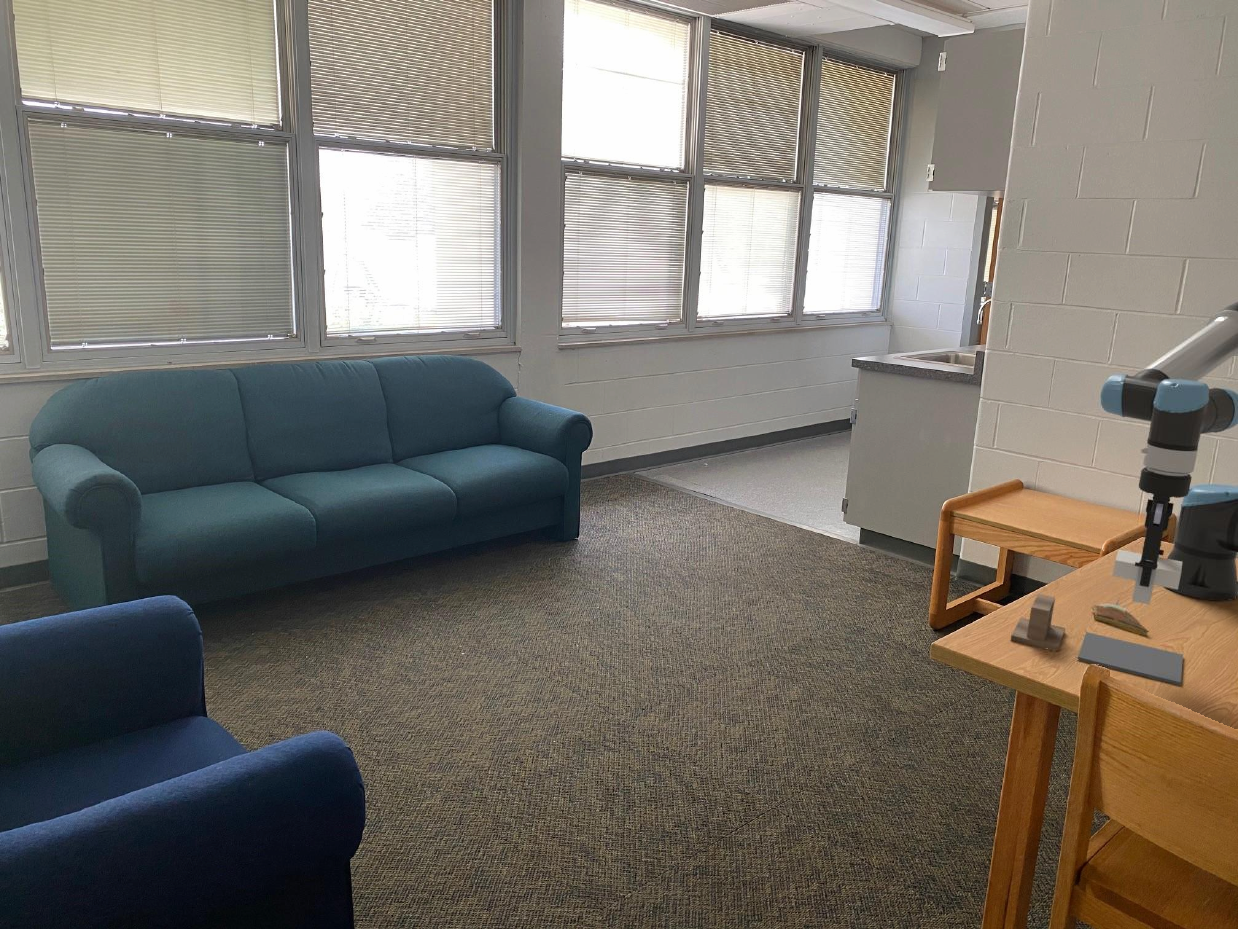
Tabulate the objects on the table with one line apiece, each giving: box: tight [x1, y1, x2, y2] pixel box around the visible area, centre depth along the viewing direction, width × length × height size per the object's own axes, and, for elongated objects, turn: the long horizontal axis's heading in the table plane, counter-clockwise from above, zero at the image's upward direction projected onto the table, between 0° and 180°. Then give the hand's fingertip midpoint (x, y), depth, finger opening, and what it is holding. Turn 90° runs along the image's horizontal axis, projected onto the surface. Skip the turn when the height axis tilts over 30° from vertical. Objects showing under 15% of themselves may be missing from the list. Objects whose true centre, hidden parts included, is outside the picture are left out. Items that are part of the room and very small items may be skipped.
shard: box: [1091, 605, 1150, 636], centre depth 183 cm, size 11×8×2 cm
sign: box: [1098, 596, 1129, 613], centre depth 193 cm, size 5×1×15 cm
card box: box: [1112, 549, 1182, 590], centre depth 163 cm, size 10×7×3 cm
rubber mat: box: [1077, 631, 1184, 686], centre depth 168 cm, size 16×13×1 cm
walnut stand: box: [1010, 593, 1066, 652], centre depth 175 cm, size 10×8×7 cm
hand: (1142, 595), depth 164 cm, fingers closed on card box, 7 cm apart
